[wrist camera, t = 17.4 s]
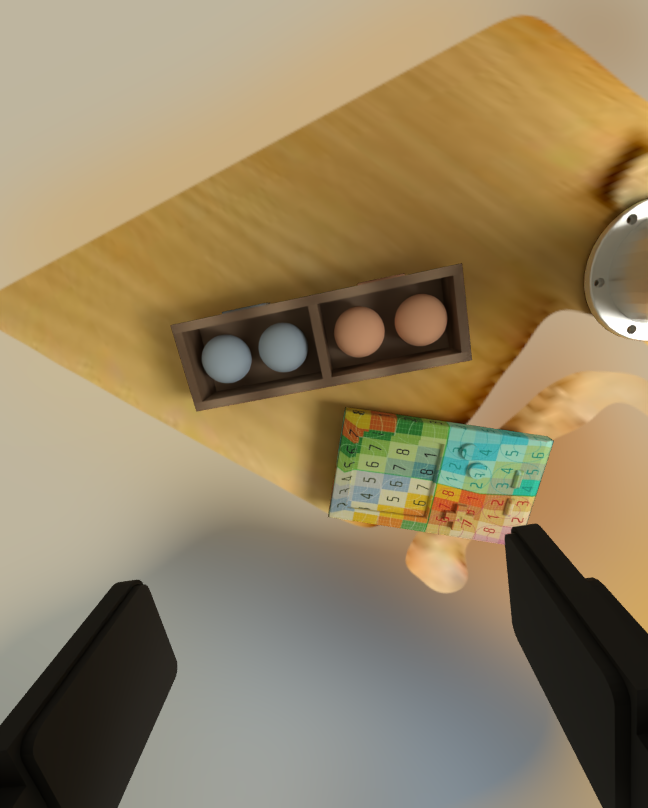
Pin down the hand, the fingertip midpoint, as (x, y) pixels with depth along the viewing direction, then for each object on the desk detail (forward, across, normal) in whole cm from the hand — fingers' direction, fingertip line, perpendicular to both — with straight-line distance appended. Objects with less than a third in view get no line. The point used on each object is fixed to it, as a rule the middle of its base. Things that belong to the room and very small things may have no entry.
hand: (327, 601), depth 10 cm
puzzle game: (+31, -8, +12) cm, 34 cm away
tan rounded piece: (+30, -8, -4) cm, 31 cm away
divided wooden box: (+30, +1, -4) cm, 31 cm away
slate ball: (+30, +5, -4) cm, 30 cm away
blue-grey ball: (+30, +10, -4) cm, 32 cm away
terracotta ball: (+30, -3, -4) cm, 30 cm away
